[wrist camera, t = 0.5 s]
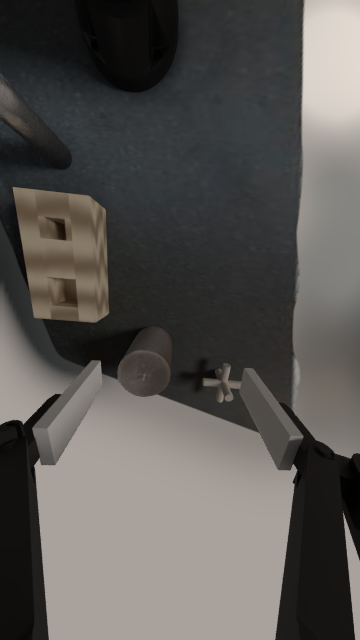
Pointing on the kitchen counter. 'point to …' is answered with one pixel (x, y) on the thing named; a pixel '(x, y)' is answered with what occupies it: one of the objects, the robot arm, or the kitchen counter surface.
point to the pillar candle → (147, 363)
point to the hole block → (64, 254)
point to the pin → (31, 126)
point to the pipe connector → (222, 383)
